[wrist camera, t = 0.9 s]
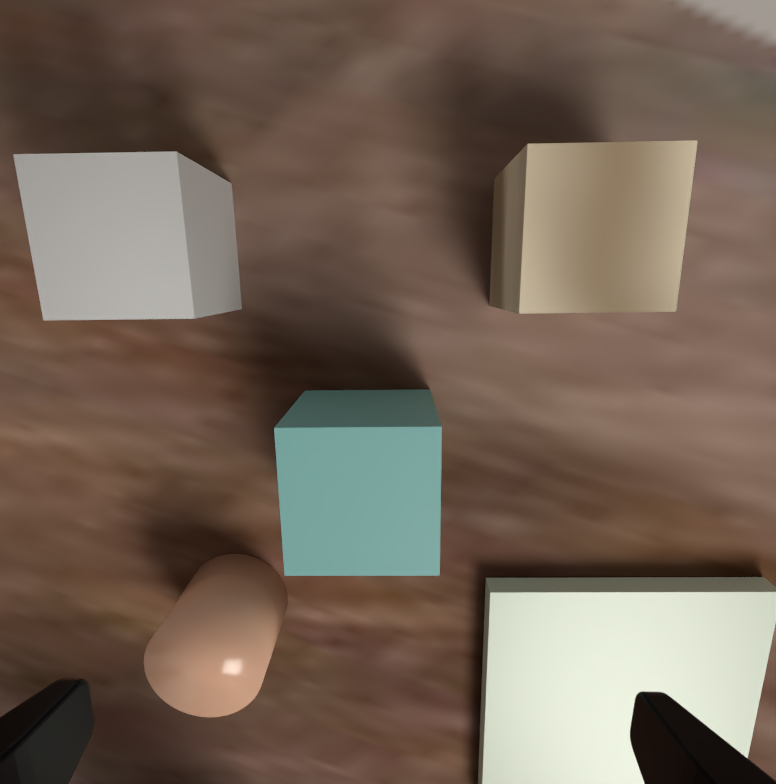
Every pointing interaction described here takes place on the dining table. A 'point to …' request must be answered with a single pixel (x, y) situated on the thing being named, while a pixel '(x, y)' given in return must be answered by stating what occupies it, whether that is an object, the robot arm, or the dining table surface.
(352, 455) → the teal block
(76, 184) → the grey plastic block
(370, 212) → the dining table surface
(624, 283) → the birch block
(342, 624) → the dining table surface
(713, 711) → the sage pad
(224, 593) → the terracotta cylinder
